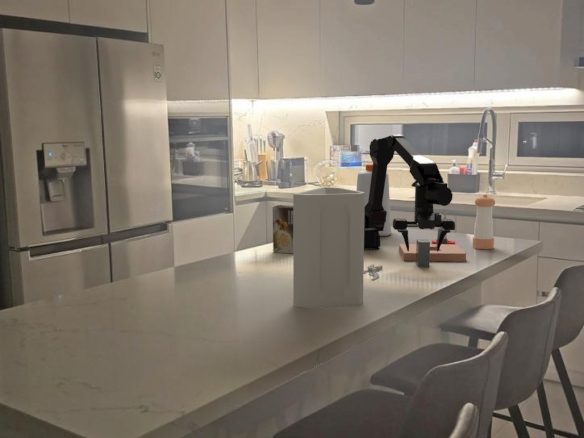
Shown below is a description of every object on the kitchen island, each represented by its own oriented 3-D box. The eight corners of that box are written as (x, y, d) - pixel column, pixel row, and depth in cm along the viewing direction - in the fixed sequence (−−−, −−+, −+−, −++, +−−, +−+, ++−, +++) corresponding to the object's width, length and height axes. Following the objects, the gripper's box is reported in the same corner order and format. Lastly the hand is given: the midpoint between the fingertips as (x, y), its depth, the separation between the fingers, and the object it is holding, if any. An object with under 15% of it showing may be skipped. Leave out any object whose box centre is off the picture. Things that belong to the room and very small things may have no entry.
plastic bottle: (354, 229, 277) (355, 163, 273) (390, 230, 275) (392, 163, 271) (352, 236, 263) (353, 165, 258) (391, 237, 260) (392, 165, 256)
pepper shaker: (496, 249, 236) (498, 195, 233) (475, 249, 236) (477, 195, 233) (490, 245, 243) (492, 193, 240) (470, 245, 243) (472, 193, 240)
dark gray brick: (418, 267, 208) (418, 242, 206) (415, 263, 213) (416, 239, 211) (429, 267, 207) (430, 242, 206) (426, 263, 212) (427, 239, 211)
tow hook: (431, 242, 252) (432, 245, 243) (432, 208, 251) (433, 210, 242) (453, 242, 251) (456, 246, 242) (455, 209, 249) (457, 211, 240)
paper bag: (348, 313, 158) (349, 197, 154) (292, 306, 165) (292, 194, 160) (374, 294, 175) (376, 189, 171) (322, 288, 182) (323, 186, 177)
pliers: (342, 272, 195) (362, 263, 208) (342, 277, 195) (362, 267, 208) (373, 276, 190) (392, 266, 203) (373, 281, 190) (392, 271, 203)
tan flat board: (404, 260, 217) (404, 253, 217) (398, 250, 233) (399, 243, 233) (465, 261, 216) (466, 253, 216) (456, 251, 232) (456, 244, 232)
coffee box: (303, 251, 233) (303, 205, 231) (296, 254, 227) (296, 208, 225) (279, 249, 237) (279, 204, 234) (272, 252, 231) (271, 206, 229)
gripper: (396, 205, 200) (395, 256, 202) (459, 205, 199) (457, 256, 201) (393, 200, 211) (392, 249, 213) (452, 201, 210) (450, 249, 212)
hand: (422, 251), depth 209 cm, fingers open, 9 cm apart
